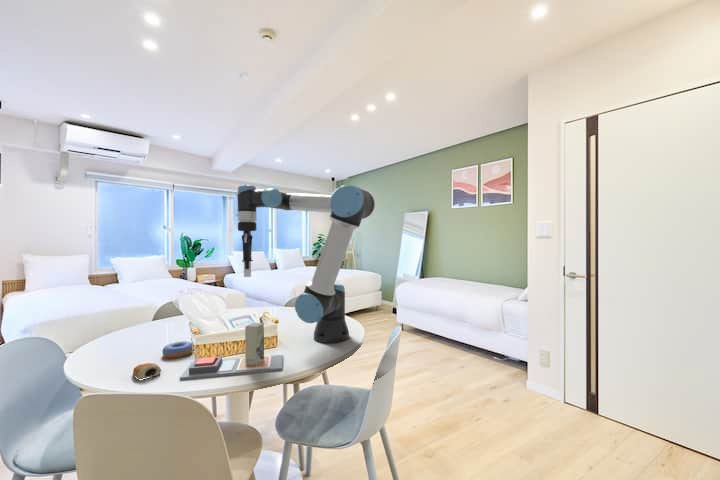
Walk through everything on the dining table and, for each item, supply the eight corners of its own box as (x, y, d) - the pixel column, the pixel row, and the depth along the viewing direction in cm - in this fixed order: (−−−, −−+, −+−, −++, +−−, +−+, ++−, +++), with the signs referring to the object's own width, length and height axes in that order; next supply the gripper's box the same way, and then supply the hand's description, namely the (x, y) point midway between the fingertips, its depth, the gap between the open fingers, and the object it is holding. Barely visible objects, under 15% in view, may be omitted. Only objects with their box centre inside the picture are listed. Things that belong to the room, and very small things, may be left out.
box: (257, 366, 102) (257, 326, 102) (244, 365, 103) (244, 326, 103) (264, 360, 108) (264, 322, 108) (252, 359, 108) (252, 322, 108)
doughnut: (171, 349, 121) (171, 337, 121) (198, 349, 122) (198, 338, 122) (156, 361, 112) (156, 349, 111) (185, 362, 112) (185, 350, 112)
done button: (216, 362, 105) (216, 356, 105) (212, 368, 100) (212, 362, 100) (199, 364, 104) (199, 358, 104) (195, 370, 99) (195, 363, 99)
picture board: (282, 356, 113) (282, 349, 113) (282, 370, 102) (282, 362, 102) (191, 364, 107) (191, 357, 107) (179, 380, 95) (179, 371, 95)
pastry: (127, 375, 99) (127, 363, 99) (151, 368, 105) (151, 356, 105) (139, 383, 94) (139, 370, 94) (163, 375, 99) (163, 363, 99)
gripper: (240, 222, 141) (240, 275, 141) (235, 220, 128) (235, 278, 128) (257, 222, 142) (258, 274, 142) (254, 221, 130) (255, 278, 130)
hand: (247, 276), depth 135 cm, fingers closed
